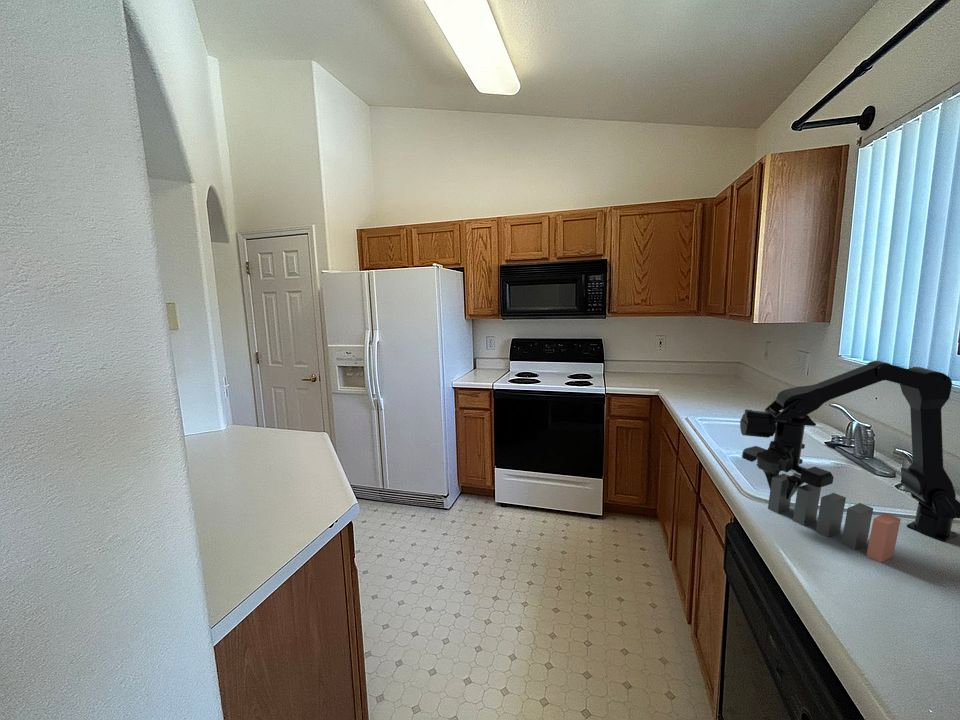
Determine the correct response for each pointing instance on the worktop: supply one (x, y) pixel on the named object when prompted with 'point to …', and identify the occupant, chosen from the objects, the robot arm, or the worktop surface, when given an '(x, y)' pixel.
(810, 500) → the domino
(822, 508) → the domino
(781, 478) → the domino
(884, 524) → the red domino
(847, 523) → the domino
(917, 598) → the worktop surface
